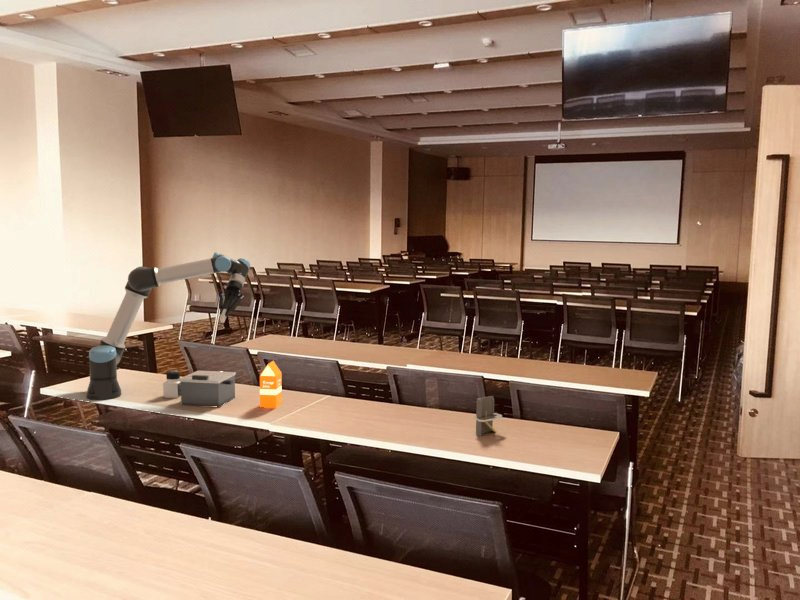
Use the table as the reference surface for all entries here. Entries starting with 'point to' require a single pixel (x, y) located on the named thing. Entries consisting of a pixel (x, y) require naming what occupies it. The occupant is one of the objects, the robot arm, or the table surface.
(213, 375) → the gray box lid
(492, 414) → the architectural model
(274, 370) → the orange juice
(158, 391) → the table surface
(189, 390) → the grey storage box
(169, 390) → the medicine bottle
